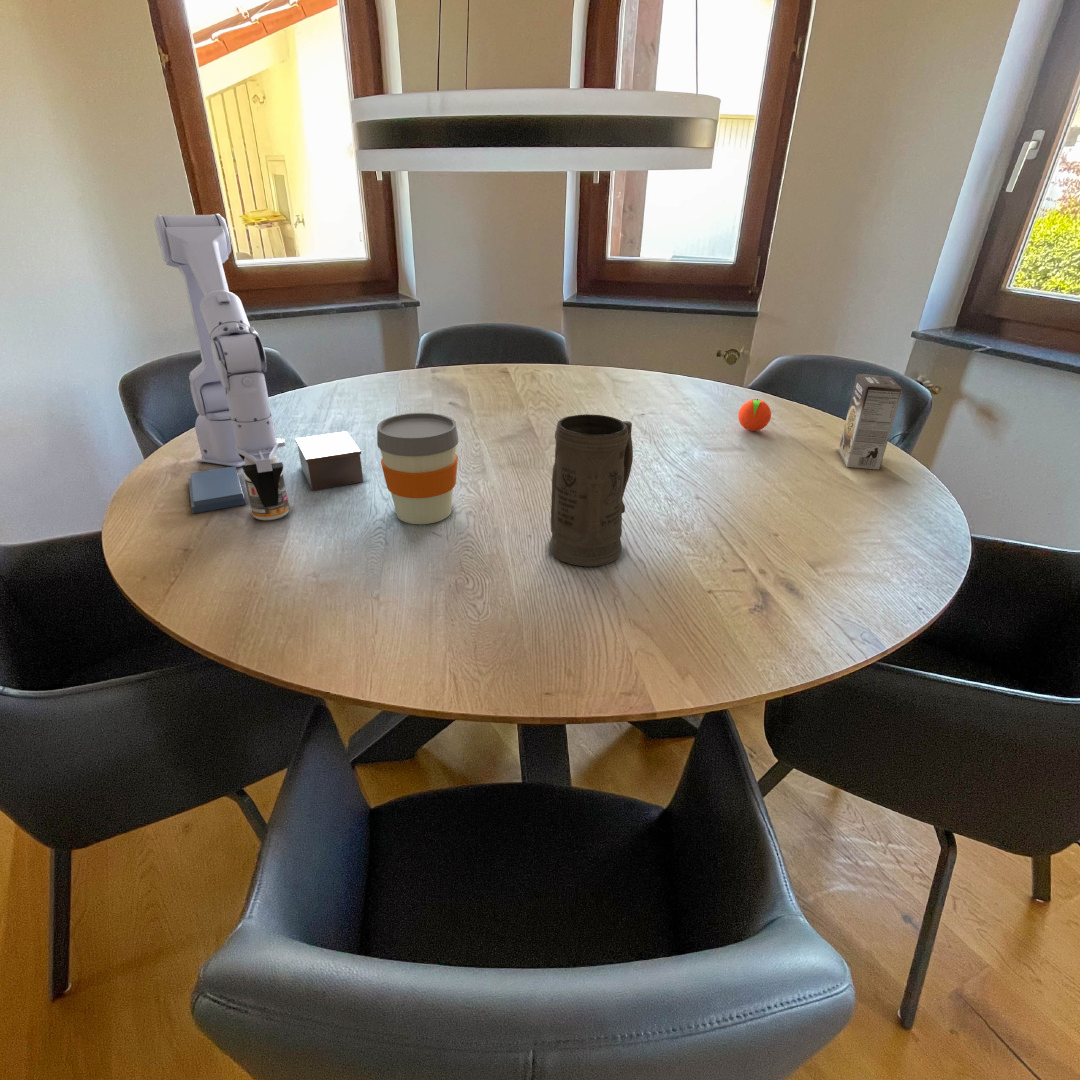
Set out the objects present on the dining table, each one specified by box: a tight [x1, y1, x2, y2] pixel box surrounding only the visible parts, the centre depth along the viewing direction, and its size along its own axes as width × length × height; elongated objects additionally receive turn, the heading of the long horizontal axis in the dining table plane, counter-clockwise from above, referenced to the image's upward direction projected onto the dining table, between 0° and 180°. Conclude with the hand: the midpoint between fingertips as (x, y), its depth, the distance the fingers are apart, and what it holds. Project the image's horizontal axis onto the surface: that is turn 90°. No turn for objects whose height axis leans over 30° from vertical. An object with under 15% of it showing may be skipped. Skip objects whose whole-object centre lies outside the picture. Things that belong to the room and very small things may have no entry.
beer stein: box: [549, 413, 634, 567], centre depth 95 cm, size 15×11×20 cm
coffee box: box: [838, 373, 904, 471], centre depth 128 cm, size 9×6×16 cm
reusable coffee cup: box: [376, 412, 460, 525], centre depth 105 cm, size 13×13×15 cm
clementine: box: [737, 398, 772, 432], centre depth 145 cm, size 8×7×7 cm
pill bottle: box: [243, 453, 290, 521], centre depth 105 cm, size 6×6×10 cm
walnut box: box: [294, 431, 364, 491], centre depth 120 cm, size 9×11×6 cm
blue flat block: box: [188, 466, 246, 514], centre depth 113 cm, size 8×13×2 cm, turn 27°
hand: (268, 497), depth 106 cm, fingers closed on pill bottle, 5 cm apart
